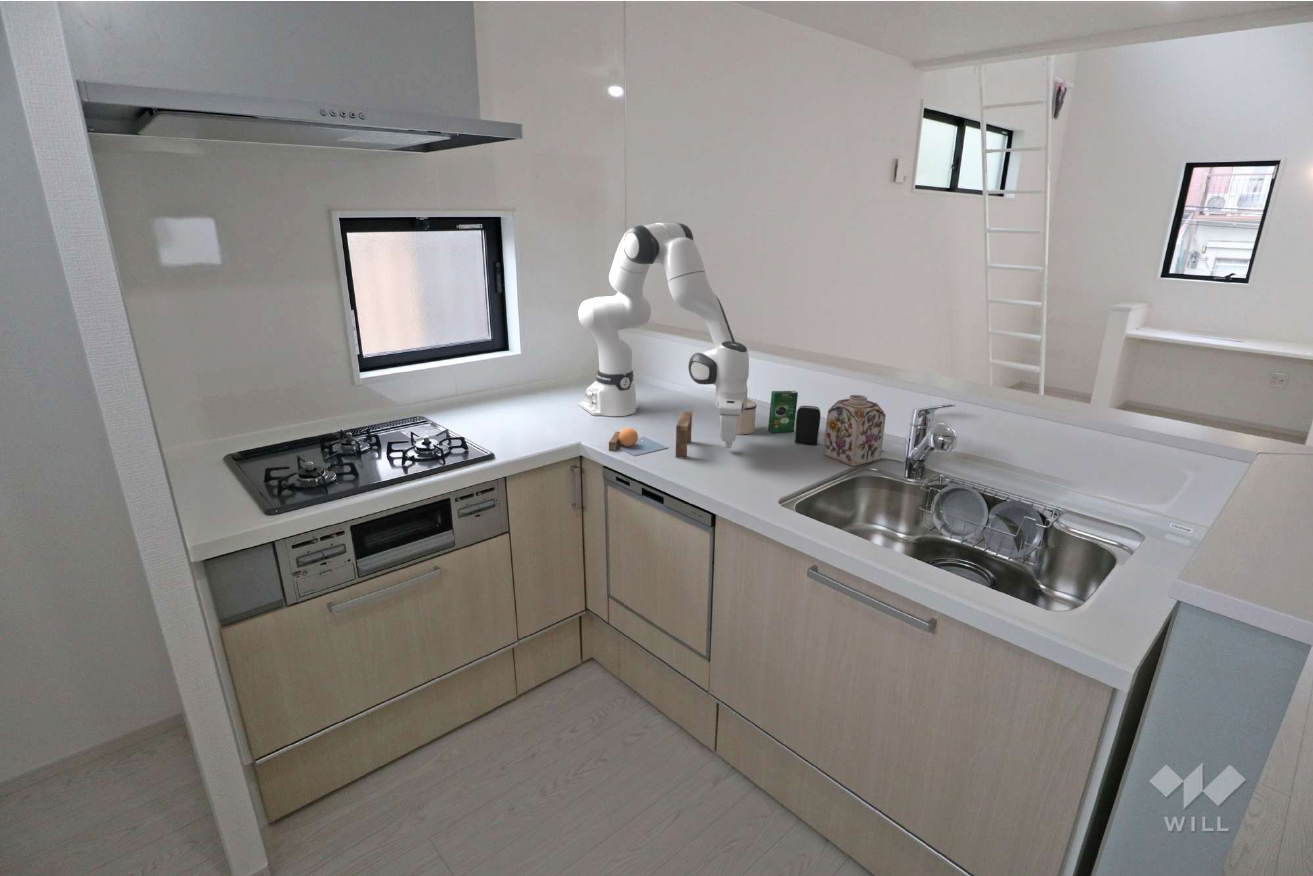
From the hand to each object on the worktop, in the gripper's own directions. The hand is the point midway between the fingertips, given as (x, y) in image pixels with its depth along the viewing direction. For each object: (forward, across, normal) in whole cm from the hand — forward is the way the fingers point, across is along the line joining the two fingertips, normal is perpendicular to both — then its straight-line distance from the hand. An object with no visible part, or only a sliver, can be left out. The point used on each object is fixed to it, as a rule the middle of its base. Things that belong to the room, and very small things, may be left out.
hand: (728, 446), depth 194 cm
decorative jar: (+2, -2, +35) cm, 35 cm away
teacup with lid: (+2, -21, +2) cm, 21 cm away
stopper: (+2, 0, -33) cm, 33 cm away
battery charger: (+2, -13, +23) cm, 26 cm away
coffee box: (+2, -23, +16) cm, 28 cm away
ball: (-1, 0, -29) cm, 29 cm away
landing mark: (+2, 0, -26) cm, 26 cm away
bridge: (+2, 0, -13) cm, 13 cm away
